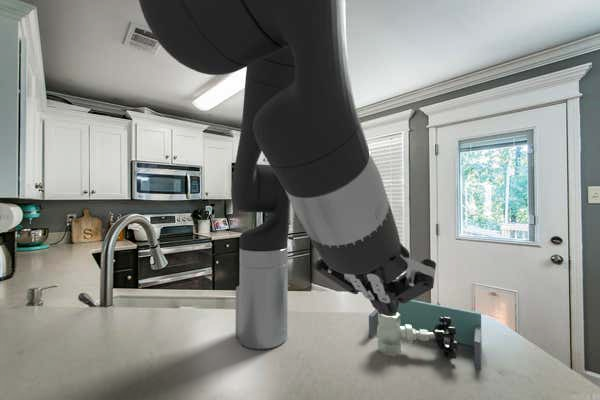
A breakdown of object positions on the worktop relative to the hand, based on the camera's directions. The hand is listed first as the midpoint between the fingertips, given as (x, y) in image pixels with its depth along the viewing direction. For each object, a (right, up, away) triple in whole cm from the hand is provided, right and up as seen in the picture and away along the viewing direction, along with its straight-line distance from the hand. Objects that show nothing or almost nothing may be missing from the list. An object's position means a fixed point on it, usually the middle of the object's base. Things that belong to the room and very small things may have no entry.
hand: (387, 308), depth 33 cm
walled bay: (+12, -13, +17) cm, 25 cm away
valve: (+9, -14, +14) cm, 21 cm away
